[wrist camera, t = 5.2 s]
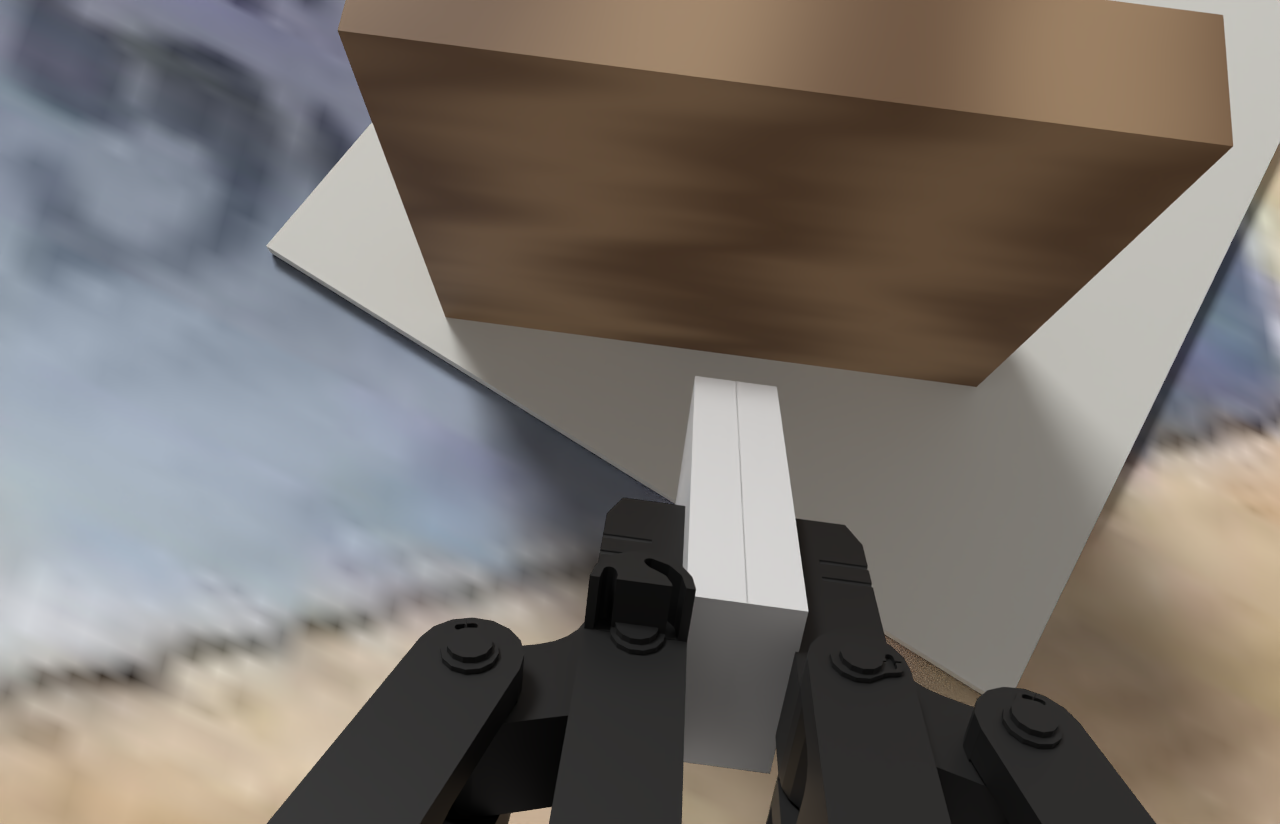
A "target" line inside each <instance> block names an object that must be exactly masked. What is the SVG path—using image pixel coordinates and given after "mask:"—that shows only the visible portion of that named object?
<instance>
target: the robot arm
mask: <svg viewBox="0 0 1280 824" xmlns="http://www.w3.org/2000/svg"><path fill="white" fill-rule="evenodd" d="M867 568H868V565H867V561H866V557H865V553H864V549H863V545H862V544H861V543H860V542H859V540H858V539H857V538H856V537H855V536H854V535H853V533H852V532H851V531H850V530H849V529H848V528H847V527H846V525H842V524H834V523H827V522H819V521H812V520H804V519H797V518H795V513H794V505H793V498H792V491H791V484H790V477H789V470H788V463H787V456H786V449H785V442H784V435H783V427H782V420H781V413H780V406H779V399H778V392H777V387H776V386H768V385H761V384H753V383H745V382H738V381H730V380H723V379H715V378H707V377H700V376H695V379H694V386H693V392H692V399H691V405H690V412H689V418H688V425H687V431H686V438H685V444H684V451H683V457H682V464H681V470H680V477H679V484H678V490H677V497H676V503H675V504H667V503H660V502H652V501H645V500H637V499H630V498H622V499H621V500H620V501H619V502H618V503H617V504H616V505H615V506H614V507H613V508H612V509H611V510H610V511H609V512H608V513H607V516H606V522H605V527H604V533H603V538H602V544H601V550H600V555H599V561H598V563H597V564H596V565H595V567H594V569H593V571H592V572H591V574H590V579H589V588H588V597H587V606H586V615H585V622H584V623H583V624H582V625H581V627H580V628H579V629H578V630H576V631H575V632H573V633H572V634H570V635H569V636H567V637H564V638H562V639H559V640H556V641H553V642H548V643H543V644H536V645H526V646H522V644H521V640H520V639H519V638H518V637H517V636H516V635H515V634H514V633H513V632H512V631H511V630H510V629H509V628H507V627H505V626H502V625H500V624H498V623H496V622H494V621H490V620H484V619H478V618H464V619H453V620H450V621H447V622H444V623H442V624H439V625H436V626H434V627H432V628H431V629H430V630H429V631H427V632H426V633H425V634H424V635H422V636H421V637H420V638H419V639H418V641H417V642H416V643H415V644H414V645H413V647H412V648H411V649H410V650H409V652H408V653H407V654H406V655H405V656H404V658H403V659H402V660H401V661H400V662H399V664H398V665H397V666H396V667H395V669H394V670H393V671H392V672H391V673H390V675H389V676H388V677H387V678H386V679H385V681H384V682H383V683H382V684H381V686H380V687H379V688H378V689H377V690H376V692H375V693H374V694H373V695H372V696H371V698H370V699H369V700H368V701H367V703H366V704H365V705H364V706H363V707H362V709H361V710H360V711H359V712H358V713H357V715H356V716H355V717H354V718H353V720H352V721H351V722H350V723H349V724H348V726H347V727H346V728H345V729H344V730H343V732H342V733H341V734H340V735H339V737H338V738H337V739H336V740H335V741H334V743H333V744H332V745H331V746H330V747H329V749H328V750H327V751H326V752H325V754H324V755H323V756H322V757H321V758H320V760H319V761H318V762H317V763H316V764H315V766H314V767H313V768H312V769H311V771H310V772H309V773H308V774H307V775H306V777H305V778H304V779H303V780H302V781H301V783H300V784H299V785H298V786H297V788H296V789H295V790H294V791H293V792H292V794H291V795H290V796H289V797H288V798H287V800H286V801H285V802H284V803H283V805H282V806H281V807H280V808H279V809H278V811H277V812H276V813H275V814H274V815H273V817H272V818H271V819H270V820H269V822H268V823H267V824H508V822H509V818H510V814H511V813H513V812H520V811H527V810H533V809H540V808H546V807H552V810H551V815H550V821H549V824H682V791H683V762H688V763H695V764H702V765H710V766H717V767H724V768H732V769H739V770H747V771H754V772H761V773H769V774H770V771H771V767H772V762H773V758H774V754H775V750H776V749H777V762H778V777H777V781H776V785H775V789H774V793H773V798H772V802H771V806H770V810H769V814H768V818H767V822H766V824H1156V823H1155V822H1154V820H1153V819H1152V818H1151V816H1150V815H1149V814H1148V812H1147V811H1146V810H1145V808H1144V807H1143V806H1142V804H1141V803H1140V802H1139V800H1138V799H1137V798H1136V797H1135V795H1134V794H1133V793H1132V791H1131V790H1130V789H1129V787H1128V786H1127V785H1126V783H1125V782H1124V781H1123V779H1122V778H1121V777H1120V776H1119V774H1118V773H1117V772H1116V770H1115V769H1114V768H1113V766H1112V765H1111V764H1110V762H1109V761H1108V760H1107V758H1106V757H1105V756H1104V754H1103V753H1102V752H1101V751H1100V749H1099V748H1098V747H1097V745H1096V744H1095V743H1094V741H1093V740H1092V739H1091V737H1090V736H1089V735H1088V733H1087V732H1086V731H1085V730H1084V728H1083V727H1082V726H1081V724H1080V723H1079V722H1078V721H1077V720H1076V719H1075V718H1074V717H1073V716H1072V715H1071V714H1070V713H1069V712H1068V711H1067V710H1066V709H1065V708H1063V707H1062V706H1060V705H1058V704H1057V703H1055V702H1053V701H1052V700H1050V699H1049V698H1047V697H1045V696H1043V695H1040V694H1037V693H1034V692H1031V691H1028V690H1026V689H1020V688H1011V687H1000V688H995V689H991V690H987V691H986V692H985V693H984V694H982V695H981V696H980V697H979V698H978V699H977V701H976V704H975V706H974V707H972V706H969V705H966V704H963V703H961V702H958V701H955V700H952V699H950V698H947V697H944V696H941V695H939V694H937V693H935V692H932V691H930V690H928V689H926V688H924V687H923V686H921V685H919V684H918V683H916V682H915V681H913V677H912V673H911V670H910V669H909V667H908V665H907V663H906V661H905V659H904V658H903V657H902V656H901V655H900V654H899V653H898V652H897V651H896V650H895V649H893V648H892V647H891V646H890V645H888V644H887V643H886V639H885V635H884V631H883V626H882V622H881V618H880V614H879V610H878V606H877V602H876V598H875V594H874V590H873V587H872V581H871V577H870V573H869V570H867Z"/></svg>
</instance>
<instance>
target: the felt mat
mask: <svg viewBox="0 0 1280 824" xmlns="http://www.w3.org/2000/svg"><path fill="white" fill-rule="evenodd" d="M1111 1H1119V2H1127V3H1134V4H1142V5H1150V6H1158V7H1166V8H1173V9H1181V10H1189V11H1197V12H1204V13H1212V14H1220V15H1223V18H1224V31H1225V44H1226V57H1227V70H1228V83H1229V96H1230V109H1231V122H1232V135H1233V147H1232V148H1231V149H1230V150H1229V151H1228V152H1227V153H1226V154H1225V155H1223V156H1222V157H1221V158H1220V159H1219V160H1218V161H1217V162H1216V163H1215V164H1214V165H1213V166H1212V167H1211V168H1210V169H1209V170H1207V171H1206V172H1205V173H1204V174H1203V175H1202V176H1201V177H1200V178H1199V179H1198V180H1197V181H1196V182H1195V183H1194V184H1193V185H1192V186H1190V187H1189V188H1188V189H1187V190H1186V191H1185V192H1184V193H1183V194H1182V195H1181V196H1180V197H1179V198H1178V199H1177V200H1176V201H1174V202H1173V203H1172V204H1171V205H1170V206H1169V207H1168V208H1167V209H1166V210H1165V211H1164V212H1163V213H1162V214H1161V215H1160V216H1158V217H1157V218H1156V219H1155V220H1154V221H1153V222H1152V223H1151V224H1150V225H1149V226H1148V227H1147V228H1146V229H1145V230H1144V231H1142V232H1141V233H1140V234H1139V235H1138V236H1137V237H1136V238H1135V239H1134V240H1133V241H1132V242H1131V243H1130V244H1129V245H1128V246H1126V247H1125V248H1124V249H1123V250H1122V251H1121V252H1120V253H1119V254H1118V255H1117V256H1116V257H1115V258H1114V259H1113V260H1112V261H1110V262H1109V263H1108V264H1107V265H1106V266H1105V267H1104V268H1103V269H1102V270H1101V271H1100V272H1099V273H1098V274H1097V275H1096V276H1095V277H1093V278H1092V279H1091V280H1090V281H1089V282H1088V283H1087V284H1086V285H1085V286H1084V287H1083V288H1082V289H1081V290H1080V291H1079V292H1077V293H1076V294H1075V295H1074V296H1073V297H1072V298H1071V299H1070V300H1069V301H1068V302H1067V303H1066V304H1065V305H1064V306H1063V307H1061V308H1060V309H1059V310H1058V311H1057V312H1056V313H1055V314H1054V315H1053V316H1052V317H1051V318H1050V319H1049V320H1048V321H1047V322H1045V323H1044V324H1043V325H1042V326H1041V327H1040V328H1039V329H1038V330H1037V331H1036V332H1035V333H1034V334H1033V335H1032V336H1031V337H1029V338H1028V339H1027V340H1026V341H1025V342H1024V343H1023V344H1022V345H1021V346H1020V347H1019V348H1018V349H1017V350H1016V351H1015V352H1013V353H1012V354H1011V355H1010V356H1009V357H1008V358H1007V359H1006V360H1005V361H1004V362H1003V363H1002V364H1001V365H1000V366H999V367H997V368H996V369H995V370H994V371H993V372H992V373H991V374H990V375H989V376H988V377H987V378H986V379H985V380H984V381H983V382H982V383H980V384H979V385H978V386H977V387H973V386H965V385H958V384H950V383H942V382H935V381H927V380H919V379H912V378H904V377H897V376H889V375H881V374H874V373H866V372H858V371H851V370H843V369H836V368H828V367H820V366H813V365H805V364H797V363H790V362H782V361H775V360H767V359H759V358H752V357H744V356H736V355H729V354H721V353H714V352H706V351H698V350H691V349H683V348H675V347H668V346H660V345H653V344H645V343H637V342H630V341H622V340H614V339H607V338H599V337H592V336H584V335H576V334H569V333H561V332H553V331H546V330H538V329H531V328H523V327H515V326H508V325H500V324H492V323H485V322H477V321H470V320H462V319H454V318H447V317H445V315H444V312H443V309H442V307H441V304H440V302H439V299H438V296H437V294H436V291H435V288H434V286H433V283H432V280H431V278H430V275H429V272H428V270H427V267H426V264H425V262H424V259H423V256H422V254H421V251H420V248H419V246H418V243H417V240H416V238H415V235H414V232H413V230H412V227H411V224H410V222H409V219H408V216H407V214H406V211H405V208H404V206H403V203H402V200H401V198H400V195H399V192H398V190H397V187H396V184H395V182H394V179H393V176H392V174H391V171H390V168H389V166H388V163H387V160H386V158H385V155H384V152H383V150H382V147H381V144H380V142H379V139H378V136H377V134H376V131H375V128H374V126H373V123H371V124H370V125H369V126H368V128H367V129H366V130H365V131H364V132H363V133H362V135H361V136H360V137H359V138H358V139H357V141H356V142H355V143H354V144H353V145H352V146H351V148H350V149H349V150H348V151H347V152H346V153H345V155H344V156H343V157H342V158H341V159H340V160H339V162H338V163H337V164H336V165H335V166H334V167H333V169H332V170H331V171H330V172H329V173H328V174H327V176H326V177H325V178H324V179H323V180H322V181H321V183H320V184H319V185H318V186H317V187H316V188H315V190H314V191H313V192H312V193H311V194H310V195H309V197H308V198H307V199H306V200H305V201H304V202H303V204H302V205H301V206H300V207H299V208H298V209H297V211H296V212H295V213H294V214H293V215H292V216H291V218H290V219H289V220H288V221H287V222H286V223H285V225H284V226H283V227H282V228H281V229H280V230H279V232H278V233H277V234H276V235H275V236H274V237H273V239H272V240H271V241H270V242H269V243H268V244H267V248H268V249H269V251H270V252H271V253H272V254H274V255H275V256H277V257H278V258H280V259H282V260H283V261H285V262H286V263H288V264H290V265H291V266H293V267H295V268H296V269H298V270H299V271H301V272H303V273H304V274H306V275H307V276H309V277H311V278H312V279H314V280H315V281H317V282H319V283H320V284H322V285H323V286H325V287H327V288H328V289H330V290H332V291H333V292H335V293H336V294H338V295H340V296H341V297H343V298H344V299H346V300H348V301H349V302H351V303H352V304H354V305H356V306H357V307H359V308H360V309H362V310H364V311H365V312H367V313H369V314H370V315H372V316H373V317H375V318H377V319H378V320H380V321H381V322H383V323H385V324H386V325H388V326H389V327H391V328H393V329H394V330H396V331H397V332H399V333H401V334H402V335H404V336H406V337H407V338H409V339H410V340H412V341H414V342H415V343H417V344H418V345H420V346H422V347H423V348H425V349H426V350H428V351H430V352H431V353H433V354H434V355H436V356H438V357H439V358H441V359H443V360H444V361H446V362H447V363H449V364H451V365H452V366H454V367H455V368H457V369H459V370H460V371H462V372H463V373H465V374H467V375H468V376H470V377H471V378H473V379H475V380H476V381H478V382H480V383H481V384H483V385H484V386H486V387H488V388H489V389H491V390H492V391H494V392H496V393H497V394H499V395H500V396H502V397H504V398H505V399H507V400H508V401H510V402H512V403H513V404H515V405H517V406H518V407H520V408H521V409H523V410H525V411H526V412H528V413H529V414H531V415H533V416H534V417H536V418H537V419H539V420H541V421H542V422H544V423H545V424H547V425H549V426H550V427H552V428H554V429H555V430H557V431H558V432H560V433H562V434H563V435H565V436H566V437H568V438H570V439H571V440H573V441H574V442H576V443H578V444H579V445H581V446H582V447H584V448H586V449H587V450H589V451H591V452H592V453H594V454H595V455H597V456H599V457H600V458H602V459H603V460H605V461H607V462H608V463H610V464H611V465H613V466H615V467H616V468H618V469H619V470H621V471H623V472H624V473H626V474H628V475H629V476H631V477H632V478H634V479H636V480H637V481H639V482H640V483H642V484H644V485H645V486H647V487H648V488H650V489H652V490H653V491H655V492H656V493H658V494H660V495H661V496H663V497H665V498H666V499H668V500H669V501H671V502H673V503H674V504H675V503H676V497H677V490H678V484H679V477H680V470H681V464H682V457H683V451H684V444H685V438H686V431H687V425H688V418H689V412H690V405H691V399H692V392H693V386H694V379H695V376H700V377H707V378H715V379H723V380H730V381H738V382H745V383H753V384H761V385H768V386H776V387H777V392H778V399H779V406H780V413H781V420H782V427H783V435H784V442H785V449H786V456H787V463H788V470H789V477H790V484H791V491H792V498H793V505H794V513H795V518H797V519H804V520H812V521H819V522H827V523H834V524H842V525H846V527H847V528H848V529H849V530H850V531H851V532H852V533H853V535H854V536H855V537H856V538H857V539H858V540H859V542H860V543H861V544H862V545H863V549H864V553H865V557H866V561H867V565H868V568H867V570H869V573H870V577H871V581H872V587H873V590H874V594H875V598H876V602H877V606H878V610H879V614H880V618H881V622H882V626H883V631H884V634H885V635H887V636H888V637H890V638H891V639H893V640H895V641H896V642H898V643H899V644H901V645H903V646H904V647H906V648H907V649H909V650H911V651H912V652H914V653H915V654H917V655H919V656H920V657H922V658H924V659H925V660H927V661H928V662H930V663H932V664H933V665H935V666H936V667H938V668H940V669H941V670H943V671H944V672H946V673H948V674H949V675H951V676H952V677H954V678H956V679H957V680H959V681H961V682H962V683H964V684H965V685H967V686H969V687H970V688H972V689H973V690H975V691H977V692H978V693H980V694H981V695H982V694H984V693H985V692H986V691H987V690H991V689H995V688H1000V687H1011V688H1016V686H1017V684H1018V682H1019V680H1020V678H1021V676H1022V674H1023V672H1024V670H1025V668H1026V666H1027V664H1028V662H1029V660H1030V657H1031V655H1032V653H1033V651H1034V649H1035V647H1036V645H1037V643H1038V641H1039V639H1040V637H1041V635H1042V633H1043V631H1044V628H1045V626H1046V624H1047V622H1048V620H1049V618H1050V616H1051V614H1052V612H1053V610H1054V608H1055V606H1056V604H1057V602H1058V600H1059V597H1060V595H1061V593H1062V591H1063V589H1064V587H1065V585H1066V583H1067V581H1068V579H1069V577H1070V575H1071V573H1072V571H1073V569H1074V566H1075V564H1076V562H1077V560H1078V558H1079V556H1080V554H1081V552H1082V550H1083V548H1084V546H1085V544H1086V542H1087V540H1088V538H1089V535H1090V533H1091V531H1092V529H1093V527H1094V525H1095V523H1096V521H1097V519H1098V517H1099V515H1100V513H1101V511H1102V509H1103V507H1104V504H1105V502H1106V500H1107V498H1108V496H1109V494H1110V492H1111V490H1112V488H1113V486H1114V484H1115V482H1116V480H1117V478H1118V475H1119V473H1120V471H1121V469H1122V467H1123V465H1124V463H1125V461H1126V459H1127V457H1128V455H1129V453H1130V451H1131V449H1132V447H1133V444H1134V442H1135V440H1136V438H1137V436H1138V434H1139V432H1140V430H1141V428H1142V426H1143V424H1144V422H1145V420H1146V418H1147V416H1148V413H1149V411H1150V409H1151V407H1152V405H1153V403H1154V401H1155V399H1156V397H1157V395H1158V393H1159V391H1160V389H1161V387H1162V385H1163V382H1164V380H1165V378H1166V376H1167V374H1168V372H1169V370H1170V368H1171V366H1172V364H1173V362H1174V360H1175V358H1176V356H1177V354H1178V351H1179V349H1180V347H1181V345H1182V343H1183V341H1184V339H1185V337H1186V335H1187V333H1188V331H1189V329H1190V327H1191V325H1192V323H1193V320H1194V318H1195V316H1196V314H1197V312H1198V310H1199V308H1200V306H1201V304H1202V302H1203V300H1204V298H1205V296H1206V294H1207V291H1208V289H1209V287H1210V285H1211V283H1212V281H1213V279H1214V277H1215V275H1216V273H1217V271H1218V269H1219V267H1220V265H1221V263H1222V260H1223V258H1224V256H1225V254H1226V252H1227V250H1228V248H1229V246H1230V244H1231V242H1232V240H1233V238H1234V236H1235V234H1236V232H1237V229H1238V227H1239V225H1240V223H1241V221H1242V219H1243V217H1244V215H1245V213H1246V211H1247V209H1248V207H1249V205H1250V203H1251V201H1252V198H1253V196H1254V194H1255V192H1256V190H1257V188H1258V186H1259V184H1260V182H1261V180H1262V178H1263V176H1264V174H1265V172H1266V170H1267V167H1268V165H1269V163H1270V161H1271V159H1272V157H1273V155H1274V153H1275V151H1276V149H1277V147H1278V145H1279V143H1280V0H1111Z"/></svg>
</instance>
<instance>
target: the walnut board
mask: <svg viewBox="0 0 1280 824" xmlns="http://www.w3.org/2000/svg"><path fill="white" fill-rule="evenodd" d="M338 33H339V35H340V38H341V41H342V43H343V46H344V49H345V51H346V54H347V57H348V59H349V62H350V65H351V67H352V70H353V73H354V75H355V78H356V81H357V83H358V86H359V89H360V91H361V94H362V97H363V99H364V102H365V105H366V107H367V110H368V113H369V115H370V118H371V120H372V123H373V126H374V128H375V131H376V134H377V136H378V139H379V142H380V144H381V147H382V150H383V152H384V155H385V158H386V160H387V163H388V166H389V168H390V171H391V174H392V176H393V179H394V182H395V184H396V187H397V190H398V192H399V195H400V198H401V200H402V203H403V206H404V208H405V211H406V214H407V216H408V219H409V222H410V224H411V227H412V230H413V232H414V235H415V238H416V240H417V243H418V246H419V248H420V251H421V254H422V256H423V259H424V262H425V264H426V267H427V270H428V272H429V275H430V278H431V280H432V283H433V286H434V288H435V291H436V294H437V296H438V299H439V302H440V304H441V307H442V309H443V312H444V315H445V317H447V318H454V319H462V320H470V321H477V322H485V323H492V324H500V325H508V326H515V327H523V328H531V329H538V330H546V331H553V332H561V333H569V334H576V335H584V336H592V337H599V338H607V339H614V340H622V341H630V342H637V343H645V344H653V345H660V346H668V347H675V348H683V349H691V350H698V351H706V352H714V353H721V354H729V355H736V356H744V357H752V358H759V359H767V360H775V361H782V362H790V363H797V364H805V365H813V366H820V367H828V368H836V369H843V370H851V371H858V372H866V373H874V374H881V375H889V376H897V377H904V378H912V379H919V380H927V381H935V382H942V383H950V384H958V385H965V386H973V387H977V386H978V385H979V384H980V383H982V382H983V381H984V380H985V379H986V378H987V377H988V376H989V375H990V374H991V373H992V372H993V371H994V370H995V369H996V368H997V367H999V366H1000V365H1001V364H1002V363H1003V362H1004V361H1005V360H1006V359H1007V358H1008V357H1009V356H1010V355H1011V354H1012V353H1013V352H1015V351H1016V350H1017V349H1018V348H1019V347H1020V346H1021V345H1022V344H1023V343H1024V342H1025V341H1026V340H1027V339H1028V338H1029V337H1031V336H1032V335H1033V334H1034V333H1035V332H1036V331H1037V330H1038V329H1039V328H1040V327H1041V326H1042V325H1043V324H1044V323H1045V322H1047V321H1048V320H1049V319H1050V318H1051V317H1052V316H1053V315H1054V314H1055V313H1056V312H1057V311H1058V310H1059V309H1060V308H1061V307H1063V306H1064V305H1065V304H1066V303H1067V302H1068V301H1069V300H1070V299H1071V298H1072V297H1073V296H1074V295H1075V294H1076V293H1077V292H1079V291H1080V290H1081V289H1082V288H1083V287H1084V286H1085V285H1086V284H1087V283H1088V282H1089V281H1090V280H1091V279H1092V278H1093V277H1095V276H1096V275H1097V274H1098V273H1099V272H1100V271H1101V270H1102V269H1103V268H1104V267H1105V266H1106V265H1107V264H1108V263H1109V262H1110V261H1112V260H1113V259H1114V258H1115V257H1116V256H1117V255H1118V254H1119V253H1120V252H1121V251H1122V250H1123V249H1124V248H1125V247H1126V246H1128V245H1129V244H1130V243H1131V242H1132V241H1133V240H1134V239H1135V238H1136V237H1137V236H1138V235H1139V234H1140V233H1141V232H1142V231H1144V230H1145V229H1146V228H1147V227H1148V226H1149V225H1150V224H1151V223H1152V222H1153V221H1154V220H1155V219H1156V218H1157V217H1158V216H1160V215H1161V214H1162V213H1163V212H1164V211H1165V210H1166V209H1167V208H1168V207H1169V206H1170V205H1171V204H1172V203H1173V202H1174V201H1176V200H1177V199H1178V198H1179V197H1180V196H1181V195H1182V194H1183V193H1184V192H1185V191H1186V190H1187V189H1188V188H1189V187H1190V186H1192V185H1193V184H1194V183H1195V182H1196V181H1197V180H1198V179H1199V178H1200V177H1201V176H1202V175H1203V174H1204V173H1205V172H1206V171H1207V170H1209V169H1210V168H1211V167H1212V166H1213V165H1214V164H1215V163H1216V162H1217V161H1218V160H1219V159H1220V158H1221V157H1222V156H1223V155H1225V154H1226V153H1227V152H1228V151H1229V150H1230V149H1231V148H1232V147H1233V135H1232V122H1231V109H1230V96H1229V83H1228V70H1227V57H1226V44H1225V31H1224V18H1223V15H1220V14H1212V13H1204V12H1197V11H1189V10H1181V9H1173V8H1166V7H1158V6H1150V5H1142V4H1134V3H1127V2H1119V1H1111V0H346V1H345V5H344V9H343V12H342V16H341V20H340V23H339V27H338Z"/></svg>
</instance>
